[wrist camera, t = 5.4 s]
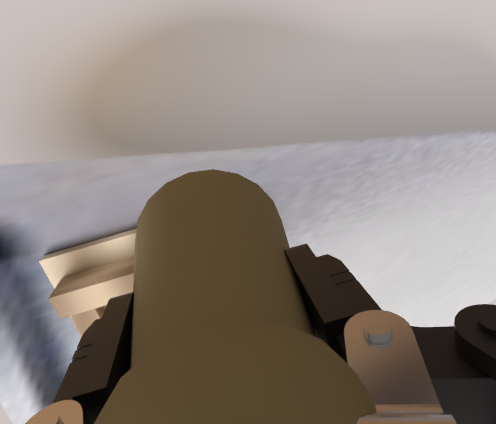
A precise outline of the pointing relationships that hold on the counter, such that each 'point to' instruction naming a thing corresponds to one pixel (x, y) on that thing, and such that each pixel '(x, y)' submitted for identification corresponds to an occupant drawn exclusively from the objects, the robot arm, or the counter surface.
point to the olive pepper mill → (224, 318)
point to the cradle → (90, 277)
